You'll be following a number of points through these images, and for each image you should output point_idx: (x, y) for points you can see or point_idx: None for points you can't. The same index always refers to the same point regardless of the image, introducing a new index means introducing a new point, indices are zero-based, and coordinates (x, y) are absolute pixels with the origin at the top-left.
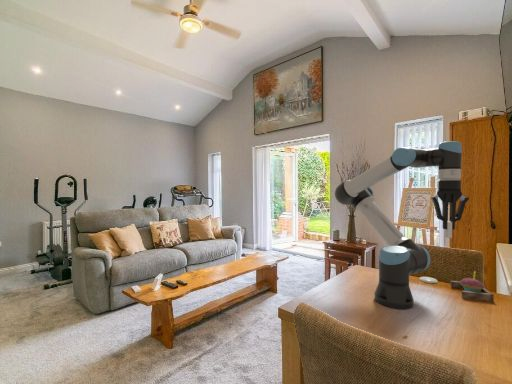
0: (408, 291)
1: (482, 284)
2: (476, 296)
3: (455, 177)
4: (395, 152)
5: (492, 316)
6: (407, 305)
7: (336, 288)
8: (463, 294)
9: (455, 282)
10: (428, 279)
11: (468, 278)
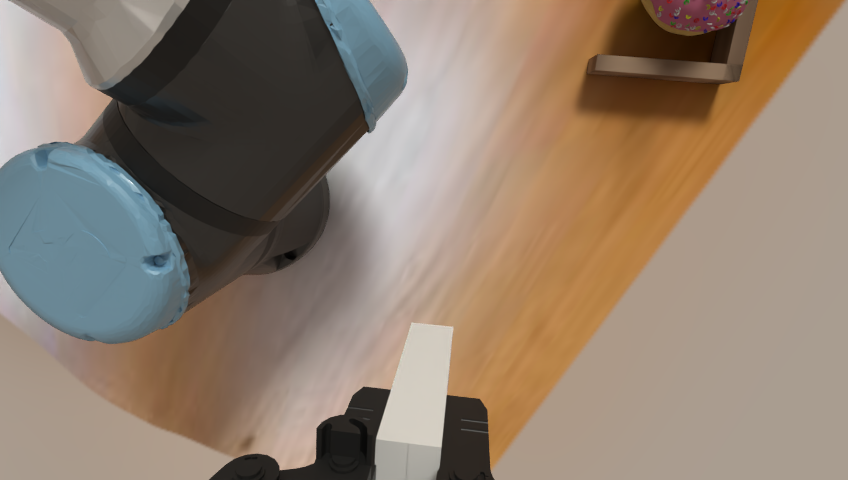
0: (278, 253)
1: (747, 2)
2: (653, 76)
3: None
4: None
5: (600, 254)
6: (289, 265)
7: (23, 100)
8: (595, 72)
9: None
10: None
11: None
